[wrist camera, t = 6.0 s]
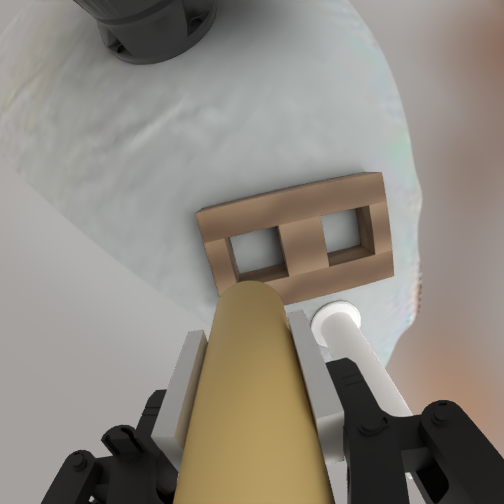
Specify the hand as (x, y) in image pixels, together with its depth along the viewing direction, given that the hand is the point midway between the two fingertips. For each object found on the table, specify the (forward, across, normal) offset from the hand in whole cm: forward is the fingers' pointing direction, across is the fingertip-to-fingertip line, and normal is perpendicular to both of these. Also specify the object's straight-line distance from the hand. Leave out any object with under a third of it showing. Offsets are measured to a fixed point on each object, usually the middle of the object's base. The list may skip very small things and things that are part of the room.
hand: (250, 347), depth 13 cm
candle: (+22, +9, -13) cm, 27 cm away
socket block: (+21, +6, 0) cm, 22 cm away
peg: (+4, 0, 0) cm, 4 cm away
